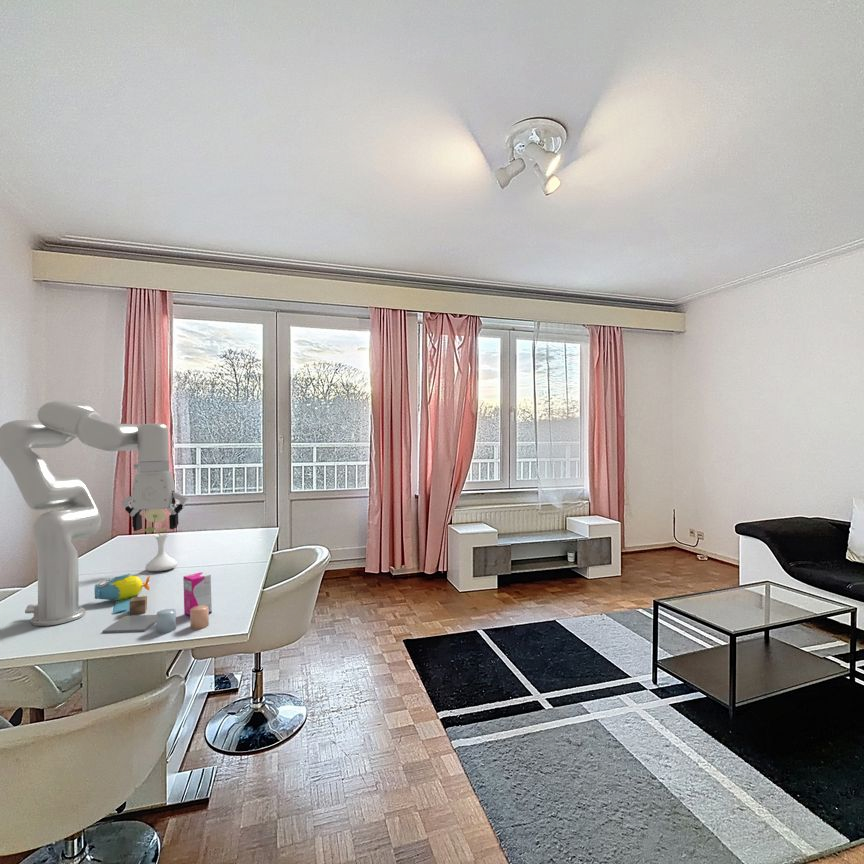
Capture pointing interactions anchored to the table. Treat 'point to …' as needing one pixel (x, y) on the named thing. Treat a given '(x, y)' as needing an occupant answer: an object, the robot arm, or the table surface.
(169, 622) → the pale blue dome knob
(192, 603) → the supplement box
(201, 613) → the peach dome cap
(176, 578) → the table surface
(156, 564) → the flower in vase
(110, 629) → the coaster
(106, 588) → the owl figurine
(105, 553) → the table surface
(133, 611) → the walnut block
